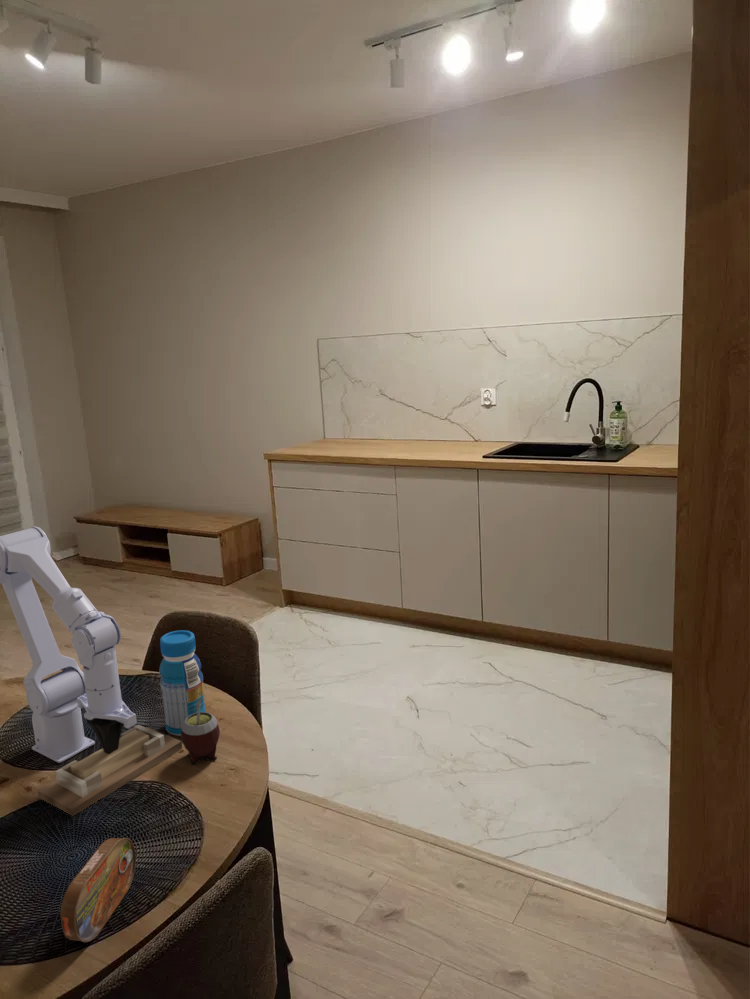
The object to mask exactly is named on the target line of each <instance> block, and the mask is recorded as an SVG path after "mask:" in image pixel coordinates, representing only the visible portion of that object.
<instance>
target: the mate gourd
mask: <svg viewBox="0 0 750 999" xmlns="http://www.w3.org/2000/svg"><path fill="white" fill-rule="evenodd" d="M201 701H202V698H201V699H199V700H198V702H197V705H196V708H197V713H194V714H192V715H190V716H188V717H187V718H186V719H185V721H184V723H183V725H182V729H181V736H180V738H181V741H182V745H183V746H184V748H185V750H187V752H188V755H189V756H190V758H191V762H190V765H191V766H195V765H197V764H198V763H199V762H201V761H202V760H203V759H204V760H205V759H206V760H209V761H213V762H215V761H217V760H218V756H216V752H217V745H218V742H219V738H220V736H221V735H220V733H221V732H220V726H219V722H218V720H217V718H216V717H215V716H214V715H213V714H212V713H210V712H206V711H205V712H200V708H201Z"/></svg>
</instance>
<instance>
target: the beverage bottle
mask: <svg viewBox="0 0 750 999" xmlns="http://www.w3.org/2000/svg"><path fill="white" fill-rule="evenodd" d="M159 645H160V653H161V656H162V657H163V658H162V660H161V662H160V665H159V673H158V674H159V675H160V676H161V677H160V680H159V686H160V689H161V695H162V704H163V713H164V725H165V730H166V731H167V733H168V734H170V735H172V736H177V737H181V729H182V725H183V723H184V721H185V719H186V718H187V717H188V716H190V715H192V714H194V713H197V708H196V705H197V702H198V700H199V699H201V698H202V701H201V708H200V712H206V704H205V703H206V702H205V694H204V693H205V692H204V675H203V672H202V671H201V669H202V663H201V661H200V658H199V656H198V655H197V654H196V653H195V651H196V647H197V646H196V645H197V644H196V636H195V633H193V632H192V631H190V630H183V629H182V630H174V631H170V632H167V633H165V634H163V635H162V636H161V637H160V640H159Z"/></svg>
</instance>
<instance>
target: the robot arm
mask: <svg viewBox="0 0 750 999" xmlns="http://www.w3.org/2000/svg"><path fill="white" fill-rule="evenodd" d="M51 550H52V548H51V542H50V539H49V538H48V536H47V534H46V532H45V531H44V530H43V529H42V528H41V527H39V526H31V527H30V528H26V529H23V530H22V529H21V530H18V531H15V532H11V533H8V534H7V533H6V534H3V535H0V584H1V585H2V588H3V590H4V593H5V595H6V598H7V600H8V603H9V605H10V608H11V611H12V613H13V616H14V618H15V620H16V624H17V626H18V629H19V631H20V634H21V636H22V638H23V642H24V645H25V647H26V649H27V652H28V654H29V657H30V660H31V663H32V666H31V667H30V669H29V671H28V673H27V674H26V676H25V677H24V678H23V680H22V682H23V685H24V689H25V699H26V702H27V704H28V706H29V708H30V710H31V711H32V716H31V722H32V728H33V734H34V741H35V742H34V743H35V744H34V745H33V746H31V750H33V751H34V752H37V753H38V754H40V755H43V756H44V757H46V758H48V759H50V760H52V761H54V762H56V763H58V764H60V763H63V762H65V761H66V760H68V759H70V758H72V757H74V756H75V755H78V754H79V753H81V752H83V751H84V750H86V749H88V748H90V747H92V746H94V745H95V744H96V742H95V740H93V739H91V738H89V737H87V736H85V731H84V725H83V724H84V723H83V718H84V719H86V723H87V725H89V726H90V728H91V729H92V731H94V734H96V737H97V739H98V742H99V743H100V745H101V749H102V748H103V750H104V752H106V753H108V754H110V753H112V752H114V751H115V750H117V749H118V746H119V740H120V738H121V734H122V730H123V727H124V728H126V729H129V728H130V729H131V728H132V727H134V726H136V725H138V724H137V714H136V713H134V712H133V711H131V710H130V708H129V707H128V706H127V704H126V703H125V702H124V701H123V699H122V692H121V684H120V677H119V675H120V674H119V669H118V668H119V667H118V661H117V660H118V658H117V652H116V647H115V646H117V645H118V644H120V643H121V642H120V641H121V638H122V634H121V629H120V627H119V624H118V623H117V621H116V620H115V618H114V617H113V616H111V615H110V614H106V613H105V612H104V611H99V609H97V608H96V607H95V606H94V604H93V603H92V601H90V599H89V597H87V595H86V594H85V593H84V592H83V590H82V589H81V588H79V587H71V586H70V584H69V582H68V581H67V580H66V578H65V577H64V575H63V573H62V572H61V570H60V568H59V567H58V565H57V564H56V562H55V561H54V559H53V558H52V556H51ZM33 579H34V580H35V582H37V584H38V585H39V587H41V588H42V589H43V590H44V591H45V593H47V594H48V595H49V596H50V598H52V599H53V602H52V606H51V607H52V610H53V612H54V613H55V614H56V615H57V618H59V619H60V620H61V622H62V623H63V624H64V626H65V627H66V628H67V630H68V631H69V633H71V635H72V638H71V644H72V646H73V648H74V650H75V652H76V654H77V660H78V662H79V664H80V666H81V665H82V670H81V668H80V666H79V665H78V662H77V660H76V659H75V658H73V657H70V656H66V655H63V654H61V652H60V649H59V648H58V644H57V642H56V639H55V637H54V634H53V632H52V629H51V626H50V623H49V621H48V618H47V617H46V614H45V611H44V609H43V608H44V607H43V605H42V603H41V601H40V598H39V595H38V593H37V590H36V587H35V585H34V582H33ZM58 671H59V672H58ZM56 672H57V673H56ZM54 673H56V674H54ZM51 674H52V675H51ZM49 675H50V676H49ZM47 676H49V677H47ZM81 709H84V710H85V712H84V713H83V717H82V711H81Z"/></svg>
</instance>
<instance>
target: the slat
mask: <svg viewBox="0 0 750 999" xmlns="http://www.w3.org/2000/svg"><path fill="white" fill-rule="evenodd" d="M147 741H149V735H147V734H144V733H142V732H140V731H138V730H134V731H132V732H130V733H128V734H127V735H125V736H123V737H122V736H120V740H119V746H118V749H117V750H115V751H114V752H112V753H110V754H108V753H106V752H104V750H103V748H102V747H101V749H98V750H97V751H95V752H93V753H91V754H89V755H88V756H86V757H84V758H82V759H80V760H79V761H78V762H77V763H75V764H74V765H72V766H71V772H72V775H74V776H76V777H78V778H80V779H82V780H83V779H85V778H87V777H88V776H90V775H92V774H93V773H95V772H97V771H98V772H100V773H101V777H102V779H103V778H104V777H106V776H108V775H109V774H111V773H112V772H114V771H116V770H117V769H119V768H121V767H122V766H124V765H126V764H127V763H129V762H131V761H132V760H134V759H136V758H137V757H139V756H141V755H142V754H144V743H146V742H147Z"/></svg>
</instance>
